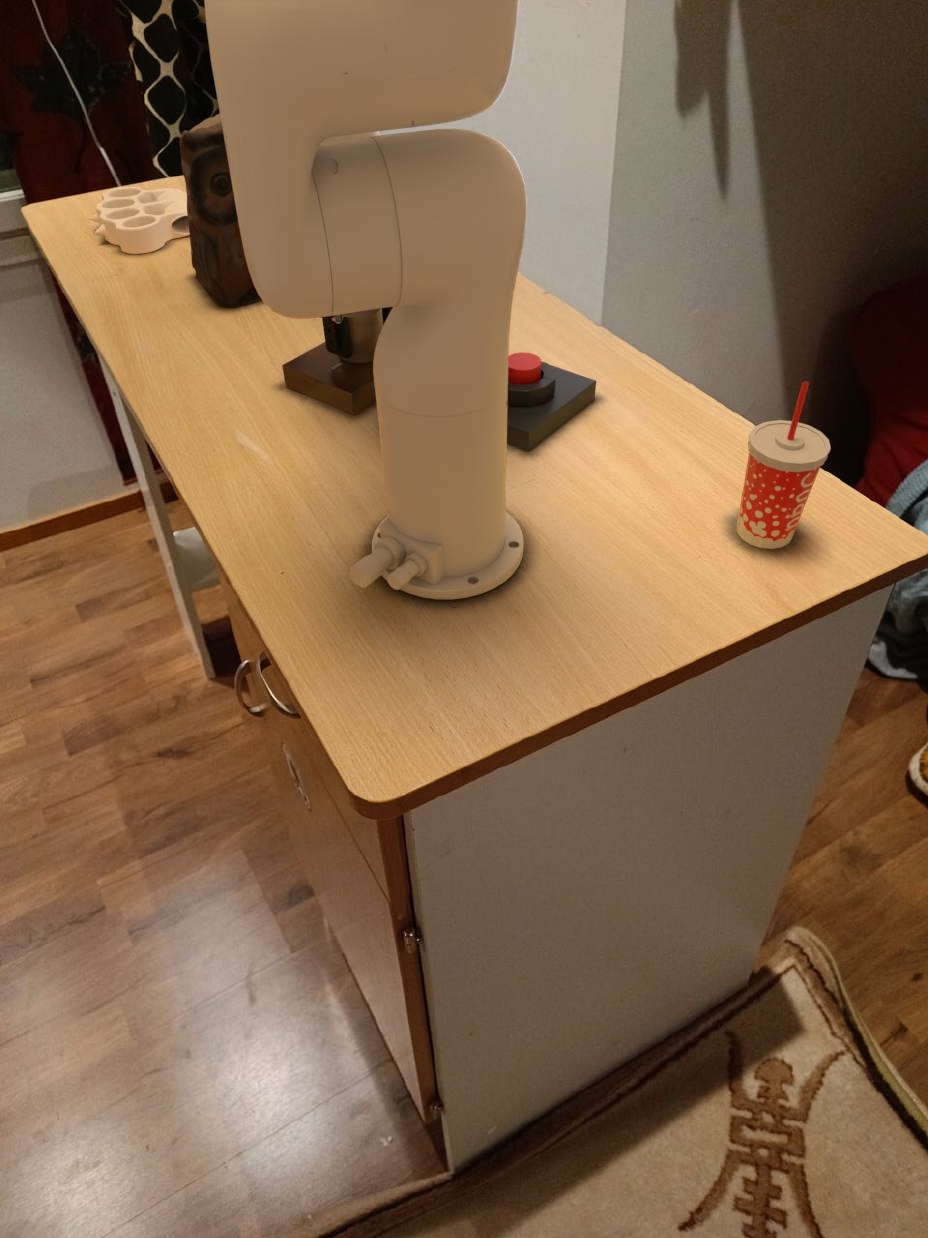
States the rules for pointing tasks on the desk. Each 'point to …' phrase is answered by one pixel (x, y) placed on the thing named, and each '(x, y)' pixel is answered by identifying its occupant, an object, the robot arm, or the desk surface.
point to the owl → (214, 217)
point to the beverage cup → (779, 478)
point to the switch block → (545, 405)
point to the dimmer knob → (364, 334)
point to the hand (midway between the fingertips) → (360, 340)
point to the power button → (524, 368)
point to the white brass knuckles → (142, 218)
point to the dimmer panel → (332, 379)
